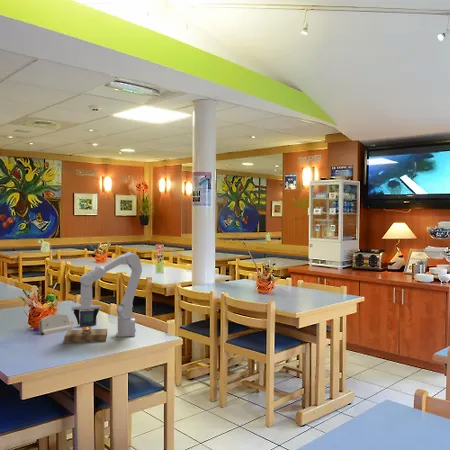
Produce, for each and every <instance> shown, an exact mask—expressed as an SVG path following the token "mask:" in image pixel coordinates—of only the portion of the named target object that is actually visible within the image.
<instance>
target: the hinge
mask: <svg viewBox="0 0 450 450" xmlns="http://www.w3.org/2000/svg"><path fill="white" fill-rule="evenodd" d="M38 322H39V323H38V324H39V334H43V336H47V335H52V334H56V333H61V332H67V331H68V330H73V327H72V325H71V323H70V319H69V316H68V315H67V314H62V313H61V314H51V315H49V316H46V317H43V318H41V319H40V320H39V321H38Z"/></svg>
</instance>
